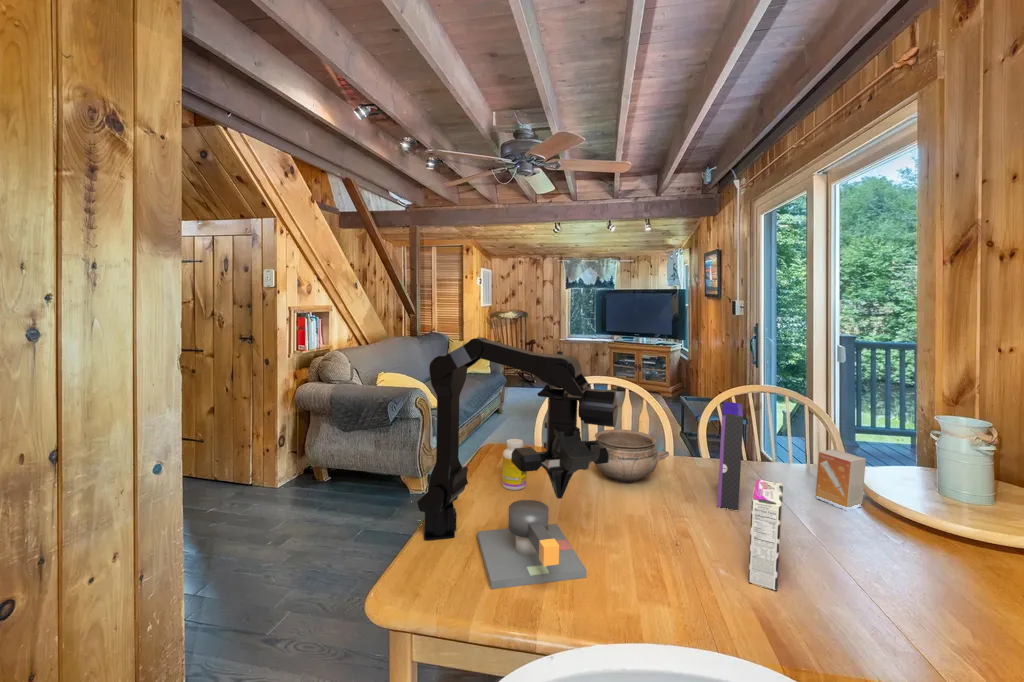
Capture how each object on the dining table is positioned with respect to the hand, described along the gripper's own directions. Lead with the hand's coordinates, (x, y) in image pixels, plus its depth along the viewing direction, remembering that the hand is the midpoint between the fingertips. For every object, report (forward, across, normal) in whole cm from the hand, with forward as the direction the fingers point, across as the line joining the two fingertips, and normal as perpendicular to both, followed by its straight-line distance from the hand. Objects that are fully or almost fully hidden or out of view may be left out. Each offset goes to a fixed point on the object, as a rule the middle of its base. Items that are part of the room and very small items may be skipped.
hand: (559, 497), depth 89 cm
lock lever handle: (+7, -6, -2) cm, 9 cm away
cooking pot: (+13, +37, +32) cm, 51 cm away
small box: (+12, +81, 0) cm, 82 cm away
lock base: (+13, -5, +3) cm, 14 cm away
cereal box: (+12, +57, +13) cm, 59 cm away
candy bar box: (+12, +36, -17) cm, 41 cm away
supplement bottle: (+13, +4, +37) cm, 39 cm away
